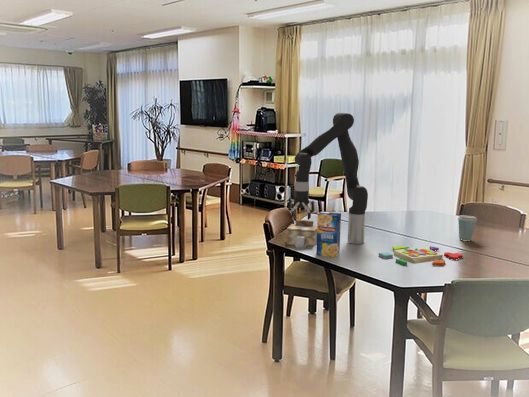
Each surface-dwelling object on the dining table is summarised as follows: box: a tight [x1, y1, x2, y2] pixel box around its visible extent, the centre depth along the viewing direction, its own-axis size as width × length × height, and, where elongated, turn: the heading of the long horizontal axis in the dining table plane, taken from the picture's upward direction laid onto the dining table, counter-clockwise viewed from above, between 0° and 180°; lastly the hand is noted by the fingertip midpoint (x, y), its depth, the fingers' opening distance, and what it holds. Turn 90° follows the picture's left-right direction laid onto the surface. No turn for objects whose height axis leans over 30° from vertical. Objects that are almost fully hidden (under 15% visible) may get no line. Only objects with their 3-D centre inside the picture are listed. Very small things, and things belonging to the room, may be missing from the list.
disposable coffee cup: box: [457, 214, 478, 241], centre depth 295 cm, size 11×11×15 cm
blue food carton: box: [315, 211, 342, 258], centre depth 261 cm, size 7×11×22 cm, turn 68°
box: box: [285, 229, 317, 247], centre depth 285 cm, size 16×12×8 cm
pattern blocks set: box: [378, 245, 464, 267], centre depth 261 cm, size 38×34×3 cm
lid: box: [286, 219, 317, 232], centre depth 284 cm, size 16×12×4 cm
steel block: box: [294, 236, 306, 249], centre depth 276 cm, size 4×4×6 cm
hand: (301, 218), depth 273 cm, fingers open, 8 cm apart
